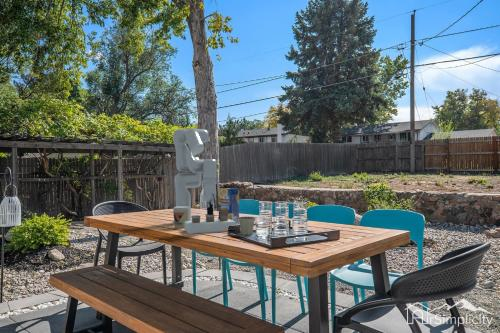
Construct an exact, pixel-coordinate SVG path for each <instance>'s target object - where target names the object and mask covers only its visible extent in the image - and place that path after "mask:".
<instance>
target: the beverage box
mask: <svg viewBox="0 0 500 333" xmlns="http://www.w3.org/2000/svg"><path fill="white" fill-rule="evenodd" d="M219 207H228V219H230V220H233V221H236V224H237V225H240V223H239V219H238V217H240V188H232V187H231V188H228V187H227V188H225V187H224V188H223V187H221V188H218V220H220V209H219Z"/></svg>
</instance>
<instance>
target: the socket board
mask: <svg viewBox="0 0 500 333" xmlns="http://www.w3.org/2000/svg"><path fill="white" fill-rule="evenodd" d="M184 224H185V228H184V232H186V233H188V234H190V235H192V234H206V233H218V232H229V231H228V227H229V226H235V225H236V221H233V220H230V219H228V221H220V220H219V219H214V222H206V219H205V220H200V223H192V221H186V222H184ZM236 226H237V225H236Z"/></svg>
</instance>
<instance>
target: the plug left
mask: <svg viewBox="0 0 500 333" xmlns="http://www.w3.org/2000/svg"><path fill="white" fill-rule="evenodd" d="M191 220H192V223H200V221H201V215H199V214H197V215H196V214H195V215H191Z"/></svg>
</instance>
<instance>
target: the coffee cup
mask: <svg viewBox="0 0 500 333" xmlns="http://www.w3.org/2000/svg"><path fill="white" fill-rule="evenodd" d="M172 210H173V212H172V213H173V226H174V228H175V229H185V224H184V222H186V221H188V218H189V207H187V206H178V207H176V206H173V208H172Z"/></svg>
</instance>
